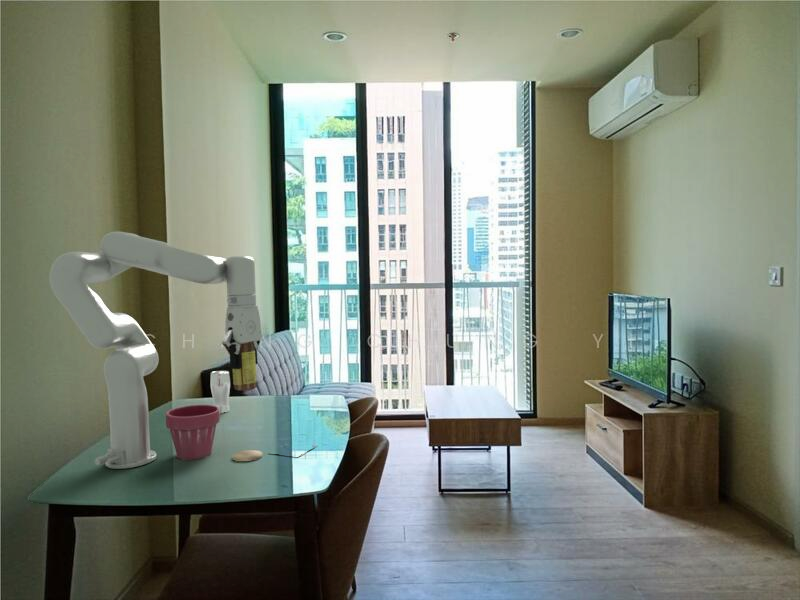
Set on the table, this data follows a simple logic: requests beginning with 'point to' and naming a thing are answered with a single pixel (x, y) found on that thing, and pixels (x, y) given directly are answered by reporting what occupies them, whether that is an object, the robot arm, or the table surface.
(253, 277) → the robot arm
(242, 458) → the coaster
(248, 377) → the sauce bottle
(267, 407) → the table surface
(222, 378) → the beer glass
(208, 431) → the plant pot
